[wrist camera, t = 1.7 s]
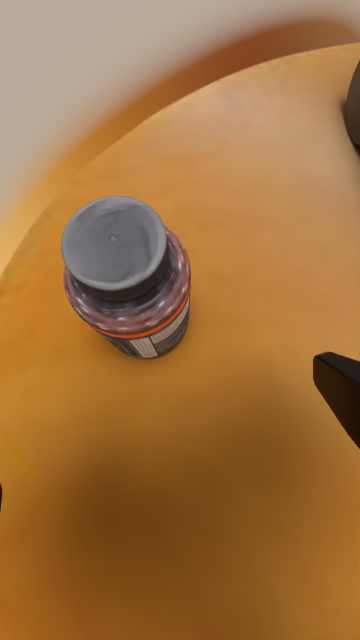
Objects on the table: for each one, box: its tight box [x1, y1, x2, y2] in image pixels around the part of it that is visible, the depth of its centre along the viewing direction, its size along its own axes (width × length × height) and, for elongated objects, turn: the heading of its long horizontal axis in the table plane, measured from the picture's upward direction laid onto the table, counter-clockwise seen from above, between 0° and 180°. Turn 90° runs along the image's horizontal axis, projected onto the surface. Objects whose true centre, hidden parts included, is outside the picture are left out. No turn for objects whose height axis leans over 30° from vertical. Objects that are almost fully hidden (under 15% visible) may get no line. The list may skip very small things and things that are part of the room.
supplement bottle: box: [61, 196, 191, 359], centre depth 16 cm, size 6×6×11 cm
